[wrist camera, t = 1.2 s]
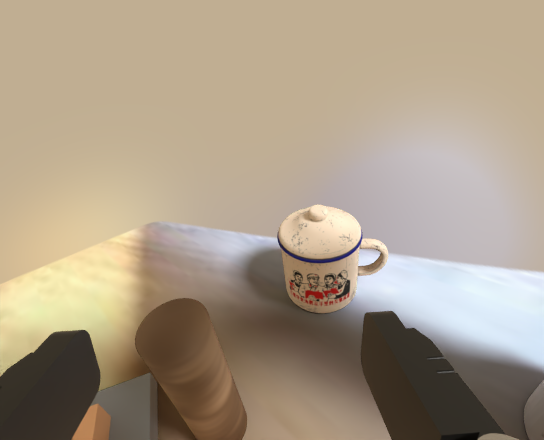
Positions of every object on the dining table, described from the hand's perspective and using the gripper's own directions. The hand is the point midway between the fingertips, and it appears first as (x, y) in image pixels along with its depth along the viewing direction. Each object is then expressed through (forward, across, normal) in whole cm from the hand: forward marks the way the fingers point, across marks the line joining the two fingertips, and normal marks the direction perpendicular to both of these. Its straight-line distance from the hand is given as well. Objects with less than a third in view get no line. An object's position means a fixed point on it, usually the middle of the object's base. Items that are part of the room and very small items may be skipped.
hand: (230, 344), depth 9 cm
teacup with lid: (+25, -10, +14) cm, 30 cm away
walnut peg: (+12, +3, +19) cm, 23 cm away
